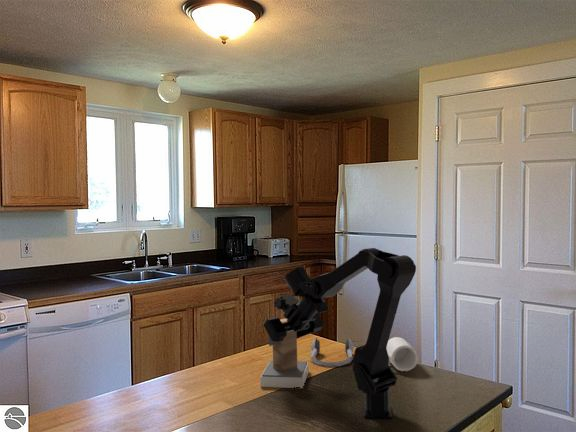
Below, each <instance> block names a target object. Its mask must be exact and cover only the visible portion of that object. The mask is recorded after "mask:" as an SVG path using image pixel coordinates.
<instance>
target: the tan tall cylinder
mask: <svg viewBox="0 0 576 432" xmlns="http://www.w3.org/2000/svg"><path fill="white" fill-rule="evenodd" d="M286 333H287V336H286V337H285V338H284V340H282V341H280V342H278V343H276V344H274V345H272V361H273V368H275V369H277V370H280V371H283V372H286V371H289V370H293V369H296V368H297V361H298V344H297V343H298V339H297V332H295V331H294V330H293V331H289V332H286Z"/></svg>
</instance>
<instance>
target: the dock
mask: <svg viewBox="0 0 576 432" xmlns="http://www.w3.org/2000/svg"><path fill="white" fill-rule="evenodd" d="M309 371H310V369H309V362H308V361H305V360H304V361H302V360H301V361H299V360H297V368H296V369H293V370H289V371H286V372H283V371H280V370H277V369H275V368H273V360H270V361H269V362H268V363H267V365H266V367H265V368H264V369H263V371H262V374H261V375H260V377H259V378H260V379H259V381H260V387H261V388H284V389H285V388H286V389H288V388H289V389H291V388H292V389H295V388H296V387H300V388H299V389H304V387H303V386H305V384H304V383H306V380H307V377H308V374H309ZM294 387H295V388H294ZM296 389H297V388H296Z"/></svg>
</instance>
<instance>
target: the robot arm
mask: <svg viewBox="0 0 576 432" xmlns="http://www.w3.org/2000/svg"><path fill="white" fill-rule="evenodd" d="M367 270H369V271H370V272H372V273H373V274H376V275H377V277H376V278H377V279H376V280H377V283H378V287H379V293H378V298H377V301H376V305H375V309H374V312H373V316H372V320H371V324H370V328H369V331H368V334H367V338H366V342H365V343H364V345H360V346H358V347H355V348H354V349H355V350H354V351H353V352H354V353H353V357H352V361H351V362H350V363H351V364H352V372H353V375H354V379H355V382H356V385H357V388H358V390H359V391H361V392H362V393H363V394H364V395H365V396H364V397H365V399H364V400H365V401H364V402H365V403H364V405H363V418H373V419H375V418H377V419H392V417H393V414H392V407H391V406H390V388H391V387H394V386H396V385H397V381H398V377H397V375H396V374H395V373H394V372H393V370H392V369H391V367H390V365H389V362H390V360H389V356H388V353H387V349H386V347H387V343H388V340H390V335H391V333H392V328H393V325H394V321H395V318H396V314H397V311H398V307H399V304H400V300H401V297H402V295H403V293H404V292H405V291H406V290H407V288H408V287H409V286H410V285H411V283H412V281H413V279H414V277H415V275H416V271H417V265H416V264H415V262H414V260H413V259H412V258H411V257H410V256H409V255H398V254H395V253H391V252H389V251H388V252H387V251H383V250H381V249H378V248H375V247H370V248H363V249H361V250H359V251H358V252H357V254H356V253H355V255H354V256H352V257H351V258H348V259H347V260H346V261H344V262H343V263H342V264H340V265H339V266H337V267H336V268H334V269H333V270H331V271H329V272H326V273H323V274H319V275H316V276H314V277H312V278H310V276H309V274H308V273H307V271H306V269H305V267H304V266H303V265H301V266H296V268H295V269H293V270H291V271H289V272H288V273H286V275H284V281H285V282H286V284H287V285H288V286H287V287H289V289H290V291H291V292H292V293H293V295H292V294H289V293H287V294H283V295H279V296H277V297H276V299H274V302H273V305H274V307H275V308H276V309H277V310H282V312H283V317H284V319H287V323H283V324H282V322H281V321H280V319H281V318H280V317H277V316H276V317H271V318H267V319H266V320H265V321H264V322H263V328H264V329H265V331H266V333H267V335H268V346H269V347H273V345H274V344H276V343H278V342H280V341H282V340H284V338H285V337H286V336H287V333H286V332H289V331H293V330H294V331H295V332H297V340H298V339H300V338H303V337H305V336H308V335H310V334H313V333H316V332H318V331H321V330H322V329H323V328H324V321H323V319H322V318H321V316H320V315H319V314H320V313H326V312H329V306H328V302H327V301H325V300H324V299H327V298H332V297H335V296H336V295H337V294H338V293H339V292H340V291H341V290H342V289H343V286H344V285H345V284H346V283H347V282H349V281H350V280H352V279H353V278H355V277H356V276H358V275H359V274H361V273H363V272H364V271H367ZM296 297H300V300H299V299H297V298H296Z"/></svg>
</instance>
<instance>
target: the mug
mask: <svg viewBox="0 0 576 432" xmlns="http://www.w3.org/2000/svg"><path fill="white" fill-rule="evenodd" d="M386 349H387V353H388V356H389V362H390V363H391V364H392V365H393V367H394V368H395V369H396V370H398V372H399V371H400V372H403V371H406V372H410V371H412V370H413V369H414V368H415V367H416V366H417V364H418V360H419V357H418V352H417V351H416V349H415V348H414V347H412V345H411V344H410V343H409V342H408V341H407V340H405V339H404V337H403V338H402V337H399V336H394V337H392V338H389V340H388V343H387V347H386Z"/></svg>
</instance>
